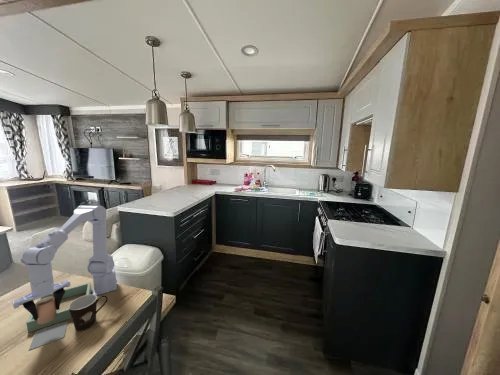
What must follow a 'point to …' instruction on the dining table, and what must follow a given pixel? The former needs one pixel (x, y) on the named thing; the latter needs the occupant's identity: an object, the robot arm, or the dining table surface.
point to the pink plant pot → (46, 310)
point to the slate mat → (48, 335)
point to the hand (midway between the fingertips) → (46, 313)
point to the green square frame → (64, 313)
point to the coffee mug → (84, 311)
